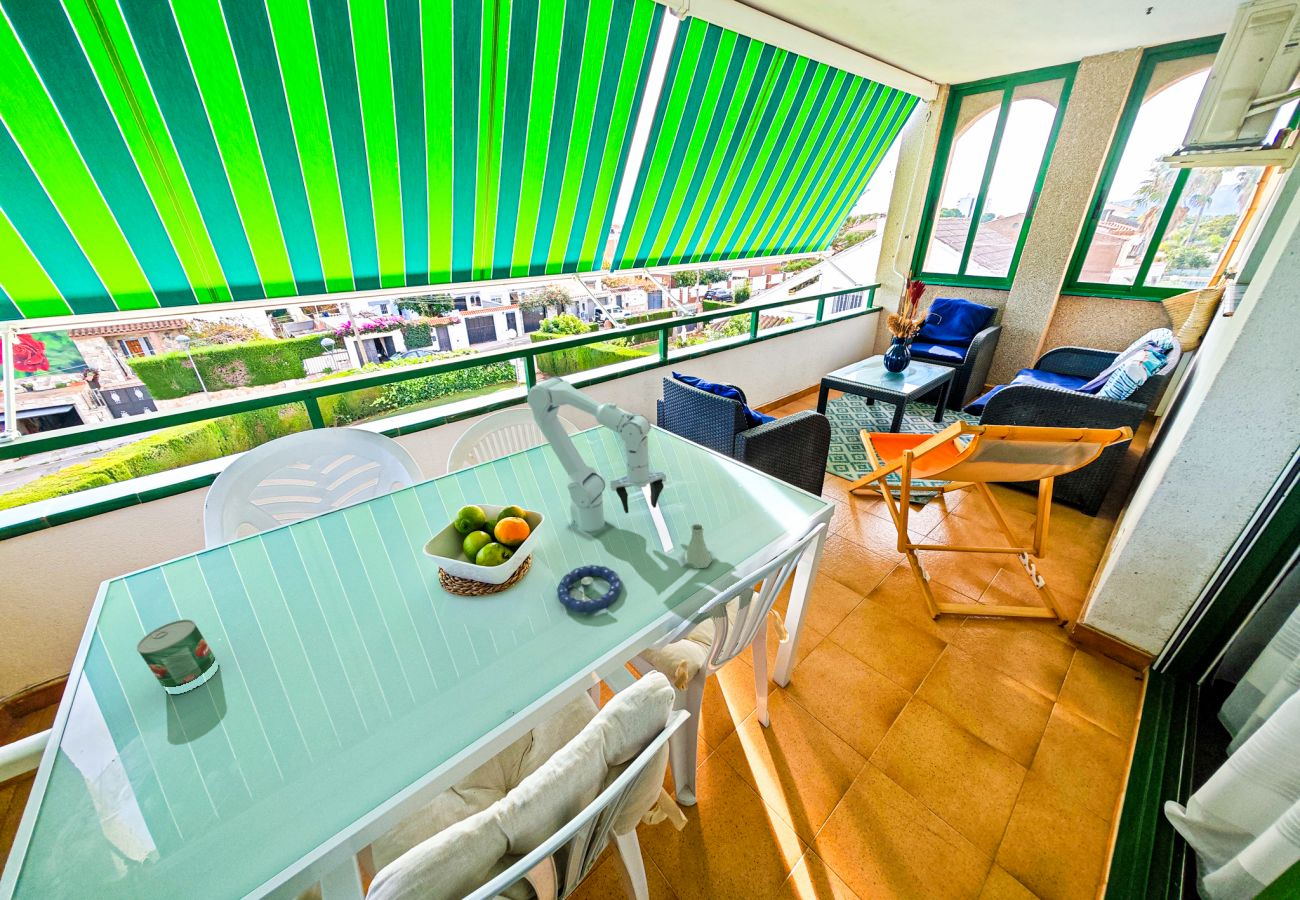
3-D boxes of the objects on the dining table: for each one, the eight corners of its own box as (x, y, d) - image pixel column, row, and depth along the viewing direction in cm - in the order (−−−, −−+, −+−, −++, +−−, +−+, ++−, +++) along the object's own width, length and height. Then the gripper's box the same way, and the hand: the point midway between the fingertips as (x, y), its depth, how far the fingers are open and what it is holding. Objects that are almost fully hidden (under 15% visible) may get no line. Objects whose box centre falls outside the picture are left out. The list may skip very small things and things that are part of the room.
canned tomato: (229, 663, 92) (205, 622, 87) (185, 698, 85) (157, 655, 80) (199, 657, 94) (175, 616, 89) (154, 691, 87) (124, 648, 82)
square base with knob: (561, 596, 106) (559, 582, 104) (590, 576, 112) (588, 562, 110) (586, 615, 100) (585, 600, 99) (616, 592, 106) (614, 578, 105)
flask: (710, 570, 112) (711, 536, 108) (681, 567, 114) (680, 534, 110) (712, 552, 119) (713, 520, 115) (685, 550, 120) (684, 517, 116)
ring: (545, 594, 105) (544, 586, 104) (592, 563, 115) (591, 555, 114) (587, 625, 96) (585, 616, 95) (633, 588, 106) (633, 580, 105)
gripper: (613, 474, 111) (617, 521, 117) (669, 464, 115) (670, 510, 120) (607, 462, 117) (610, 508, 123) (660, 453, 121) (661, 498, 127)
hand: (640, 508), depth 122 cm, fingers open, 7 cm apart
